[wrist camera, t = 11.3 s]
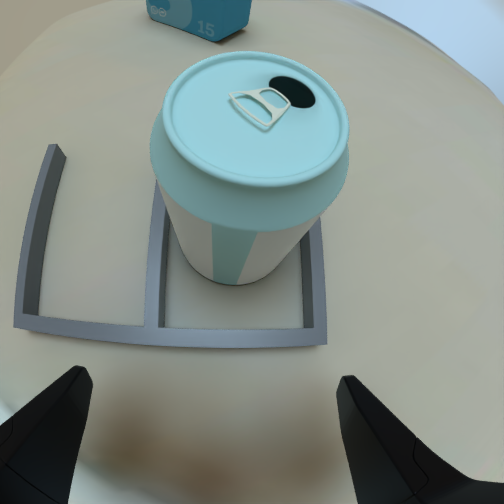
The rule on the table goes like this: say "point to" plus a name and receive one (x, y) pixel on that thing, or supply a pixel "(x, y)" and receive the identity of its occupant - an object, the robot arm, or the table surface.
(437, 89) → the table surface
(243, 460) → the table surface
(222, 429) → the table surface
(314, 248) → the grey flat frame
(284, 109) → the can
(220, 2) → the data package
